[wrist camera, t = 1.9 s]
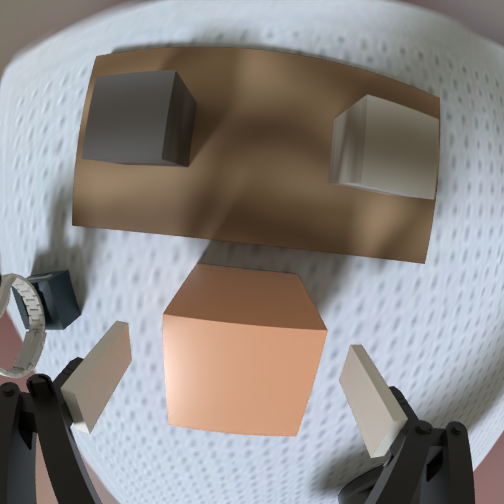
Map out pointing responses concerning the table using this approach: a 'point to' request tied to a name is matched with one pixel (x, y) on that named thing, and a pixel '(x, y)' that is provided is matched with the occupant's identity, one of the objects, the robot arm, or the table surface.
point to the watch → (38, 312)
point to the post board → (258, 152)
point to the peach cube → (241, 351)
